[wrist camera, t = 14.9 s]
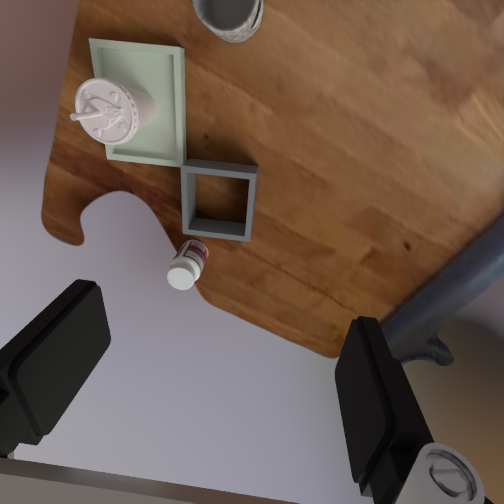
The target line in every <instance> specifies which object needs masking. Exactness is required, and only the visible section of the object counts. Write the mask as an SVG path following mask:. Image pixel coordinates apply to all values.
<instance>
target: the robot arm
mask: <svg viewBox="0 0 504 504" xmlns="http://www.w3.org/2000/svg"><path fill="white" fill-rule="evenodd" d="M110 341H111V336H110V330H109V326H108V321H107V316H106V311H105V307H104V302H103V297H102V292H101V288H100V287H99V286H97V284H96V282H94V281H88V280H82V279H78V280H76V281H74V282H73V283H72V284H71V285H70V286H69V287H68V288H67V289H65V290H64V291H63V292H62V293H61V294H60V295H59V296H58V297H57V298H56V299H55V300H54V301H52V302H51V303H50V304H49V305H48V306H47V307H46V308H45V309H44V310H43V311H42V312H41V313H39V315H37V316H36V317H35V318H34V319H33V320H32V321H31V322H30V323H29V324H28V325H26V326H25V327H24V329H22V330H21V331H20V332H19V333H18V334H17V335H16V336H15V337H14V338H13V339H11V340H10V341H9V342H8V343H7V344H6V345H5V346H4V347H3V348H2V349H0V504H298V503H293V502H287V501H281V500H274V499H268V498H262V497H256V496H250V495H244V494H237V493H231V492H225V491H219V490H213V489H206V488H200V487H194V486H187V485H181V484H174V483H168V482H162V481H155V480H149V479H143V478H136V477H129V476H124V475H117V474H110V473H104V472H96V471H91V470H84V469H78V468H71V467H64V466H58V465H51V464H45V463H38V462H31V461H23V460H16V459H14V450H15V448H16V447H17V446H18V444H19V443H24V444H30V445H38V444H39V442H40V441H41V439H42V438H43V436H44V435H48V434H49V433H50V432H51V431H52V429H53V428H54V427H55V425H56V424H57V422H58V421H59V419H60V418H61V416H62V415H63V413H64V412H65V410H66V409H67V407H68V406H69V404H70V403H71V402H72V400H73V399H74V397H75V396H76V394H77V393H78V391H79V390H80V388H81V387H82V385H83V384H84V382H85V381H86V379H87V378H88V376H89V375H90V374H91V372H92V371H93V369H94V368H95V366H96V365H97V363H98V362H99V360H100V359H101V357H102V356H103V354H104V353H105V351H106V350H107V348H108V347H109V345H110ZM335 382H336V387H337V393H338V399H339V404H340V410H341V416H342V421H343V427H344V432H345V438H346V444H347V449H348V455H349V461H350V467H351V472H352V477H353V480H354V482H355V483H359V487H360V492H361V496H367V497H373V500H374V504H493V503H492V502H491V501H490V500H489V499H488V498H486V497H485V491H484V487H483V484H482V481H481V479H480V477H479V475H478V474H477V472H476V470H475V469H474V468H473V467H472V465H471V464H470V463H469V462H468V460H466V459H465V458H464V457H463V456H462V455H461V454H459V453H458V452H457V451H455V450H453V449H451V448H450V447H448V446H445V445H443V444H440V443H434V440H433V438H432V435H431V433H430V431H429V429H428V426H427V424H426V421H425V419H424V417H423V414H422V412H421V410H420V407H419V405H418V403H417V401H416V398H415V396H414V393H413V391H412V389H411V386H410V384H409V381H408V379H407V377H406V374H405V372H404V370H403V367H402V365H401V363H400V362H399V361H398V360H397V359H394V358H393V357H392V355H391V352H390V350H389V347H388V345H387V343H386V340H385V338H384V335H383V333H382V330H381V328H380V325H379V323H378V321H377V319H376V318H371V317H364V316H359V317H358V318H357V320H355V319H353V320H352V322H351V325H350V328H349V331H348V334H347V336H346V339H345V342H344V345H343V348H342V351H341V354H340V357H339V360H338V362H337V365H336V369H335Z"/></svg>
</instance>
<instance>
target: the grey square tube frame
mask: <svg viewBox="0 0 504 504" xmlns="http://www.w3.org/2000/svg"><path fill="white" fill-rule="evenodd" d="M258 170H259V166H255V165H246V164H237V163H228V162H219V161H211V160H202V159H193V158H190V159H188V160H187V161H186V162H184V163H183V164H182V165H181V193H182V224H183V234H189V235H197V236H205V237H214V238H222V239H230V240H238V241H246V242H250V239H251V234H252V230H253V220H254V210H255V200H256V190H257V180H258ZM196 173H198V174H207V175H216V176H224V177H233V178H242V179H250V182H249V193H248V205H247V217H246V224H245V223H236V222H228V221H220V220H211V219H203V218H196Z"/></svg>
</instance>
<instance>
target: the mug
mask: <svg viewBox="0 0 504 504" xmlns="http://www.w3.org/2000/svg"><path fill="white" fill-rule="evenodd" d="M191 1H192V4H193V7H194V10H195V12H196V14H197V16H198V17H199V19H200V20H201V22H202V23H203V24H204V25H205V26H206V27H207V28H209V29H210V30H211V31H212V32H214V33H215V34H216V35H217V36H219V37H220V38H221V39H223V40H225V41H227V42H230V43H241V42H243V41H246V40H248V39H249V38H250V37H252V36H253V35H254V33H255V32H256V31H257V29H258V28H259V26H260V24H261V20H262V17H263V11H264V4H263V0H191Z"/></svg>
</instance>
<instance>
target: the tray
mask: <svg viewBox="0 0 504 504" xmlns="http://www.w3.org/2000/svg"><path fill="white" fill-rule="evenodd" d="M89 44H90V51H91V57H92V64H93V70H94V77H95V78H99V77H100V78H108V79H111V80H114V81H116V82H117V83H119V84H120V85H122V86H124V87H128V88H131V89H135V90H138V91H142V92H145V93H147V94H149V95H150V96H151V97H152V98H153V99H154V101H155V103H156V106H157V114H156V117H155V119H154V120H153V121H151V122H150V123H148V124H147V125H145V126H144V127H142V128H141V129H139V130H138V131H136V132H135V134H134V136H133V137H132V138H131V139H130V140H128V141H127V142H125V143H121V144H116V145H108V144H105V148H106V154H107V159H111V160H120V161H129V162H138V163H146V164H155V165H164V166H172V167H181V165H182V164H183V163H184V162H186V161H187V146H186V101H185V55H184V49H183V48H181V47H173V46H163V45H153V44H143V43H133V42H122V41H112V40H102V39H92V38H89Z"/></svg>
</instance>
